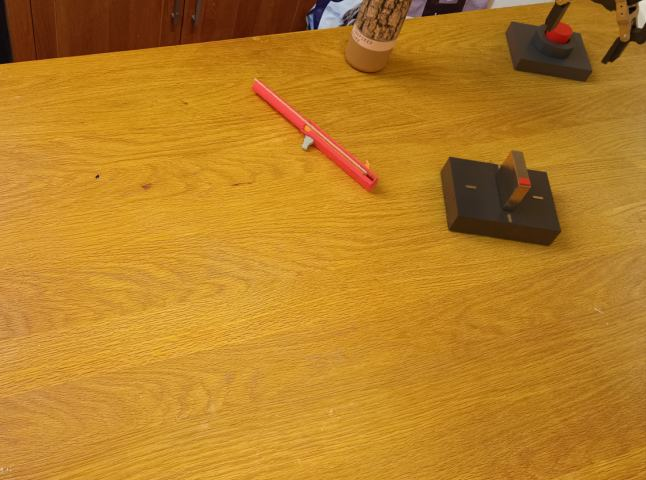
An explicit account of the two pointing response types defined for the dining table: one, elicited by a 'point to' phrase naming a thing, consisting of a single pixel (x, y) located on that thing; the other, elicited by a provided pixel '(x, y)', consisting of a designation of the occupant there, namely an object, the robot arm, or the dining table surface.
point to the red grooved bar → (319, 138)
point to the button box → (547, 53)
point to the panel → (497, 204)
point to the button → (560, 33)
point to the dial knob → (512, 180)
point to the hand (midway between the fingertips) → (577, 45)
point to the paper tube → (375, 33)
